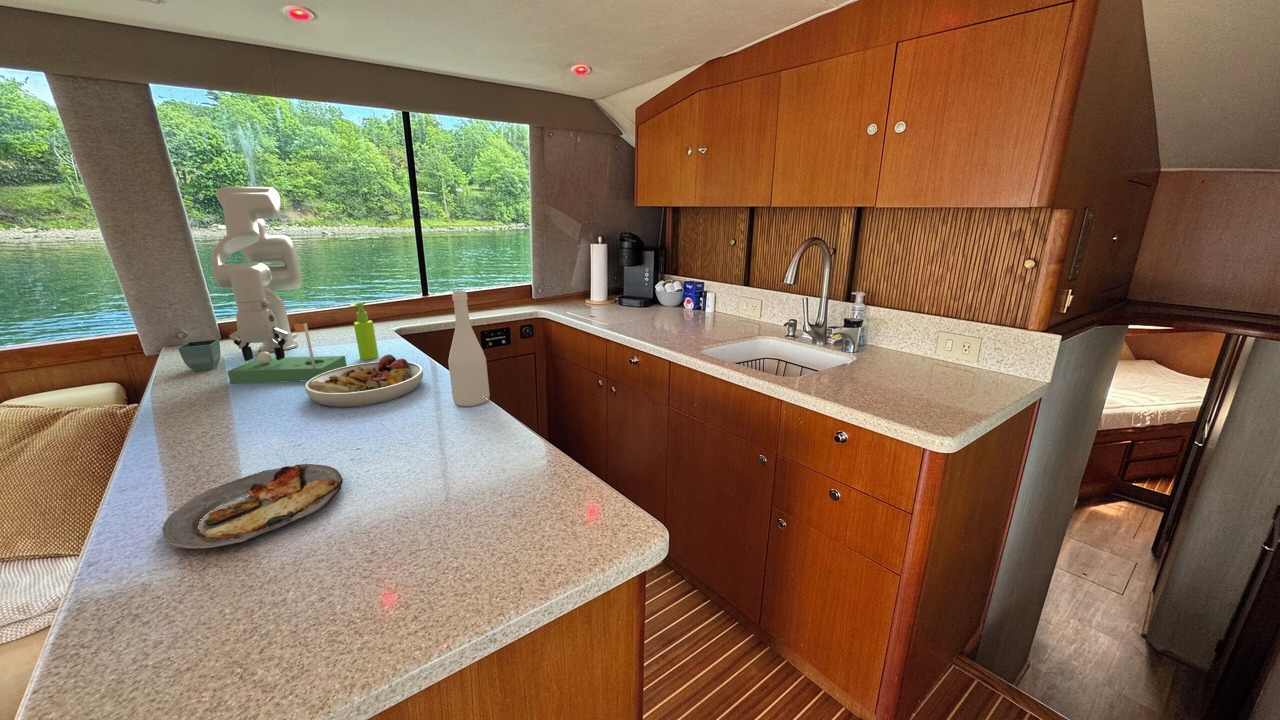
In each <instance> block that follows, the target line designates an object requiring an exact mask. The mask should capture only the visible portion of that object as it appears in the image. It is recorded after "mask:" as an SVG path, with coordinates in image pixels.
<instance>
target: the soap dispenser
mask: <svg viewBox="0 0 1280 720" xmlns="http://www.w3.org/2000/svg"><path fill="white" fill-rule="evenodd" d="M364 305H366V302H362V301H360V302H355V303H351V304H349V305H348V307H350V308H355V307H357V310H358V311H357V312H355V316H356V320H357V321H354V322H353V327H354V332H355V338H356V343H357V348H358V353H359V359H360V360H362V361H363V360H364V361H366V360H375V359H377V358H379V352H378V345H377V338H376V334H375V328H374V323H373V321H374V320H369V317H368V316H369V315H368V311H366V310H365V309H364Z"/></svg>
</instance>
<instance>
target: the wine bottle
mask: <svg viewBox="0 0 1280 720" xmlns="http://www.w3.org/2000/svg"><path fill="white" fill-rule="evenodd" d="M451 298H452V302H453V305H454V306H453V307H454V318H455V326H454V327H455V329H454V333H453V337H452V342H451V346H450V350H449V354H448V355H449V356H448V362H447V363H448V371H449V378H450V379H449V380H450V387H451V394H452V400H453V403H454V405H457V406H458V407H470V408H471V407H476V406H479V405H483V404H485V403H487V402H488V401H489V400H490V396H491V395H490V384H489V376H488V365H487V358H486V356H485V352H484V350H483V348H482V346H481V345H480V342H479V340H478V337H477V336H476V334H475V331H474V329H473V327H472V324H471V321H470V315H469V308H468V300H469V299H468V293H467V292H466V290H465V291H464V290H456V291H453V292H452V294H451ZM483 396H484V397H483ZM486 398H487V399H488V400H487V399H486Z"/></svg>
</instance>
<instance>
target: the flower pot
mask: <svg viewBox="0 0 1280 720" xmlns="http://www.w3.org/2000/svg"><path fill="white" fill-rule="evenodd" d="M177 350H178V352H179V355H180V357H181V359H182V361H183V363H184V364H185V365H186V366H187V367H188V368H189V369H191V370H192V371H193V372H200V370H201V371H208V370H210V369H211V370H213V369H215V368H216V367H218V364H219V362H220V360H221V345H220V339H210V340H209V339H206V340H200V341H199V340H197V341H188V342H185V343H184V344H181V345H180V346H178V347H177Z"/></svg>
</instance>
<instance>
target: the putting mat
mask: <svg viewBox="0 0 1280 720" xmlns="http://www.w3.org/2000/svg"><path fill="white" fill-rule="evenodd" d="M293 326H294V331H295V332H294V333H297V332H304V333H305V339H306V343H307V348H308V352H309V356H294V357H293V356H290V357H286V356H285V358H283V359H281V360H277V359H276V357H273V359H272V361H271V362H270V363H268V364H262V363H260V362H259V361H258V360H257V358H256V359H252V360H249V362H248V361H247V362H246V363H243V364H242V365H239V366H237V367H234V368H232V369H229V370H227V376H228V378H229V383H230V384H252V383H253V384H254V383H255V382H259V383H281V382H280V381H292V382H301V381H300V380H310V379H312V378H313V377H315V376H317V375H320V374H322V373H325V372H328V371H331V370H334V369H338V368H342V367H346V366H348V365H347V360H346V355H331V356H329V355H327V356H326V355H325V356H323V355H322V356H314V352H313V348H312V343H311V338H310V333H309V329H308V324H307V323H296V324H293Z"/></svg>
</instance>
